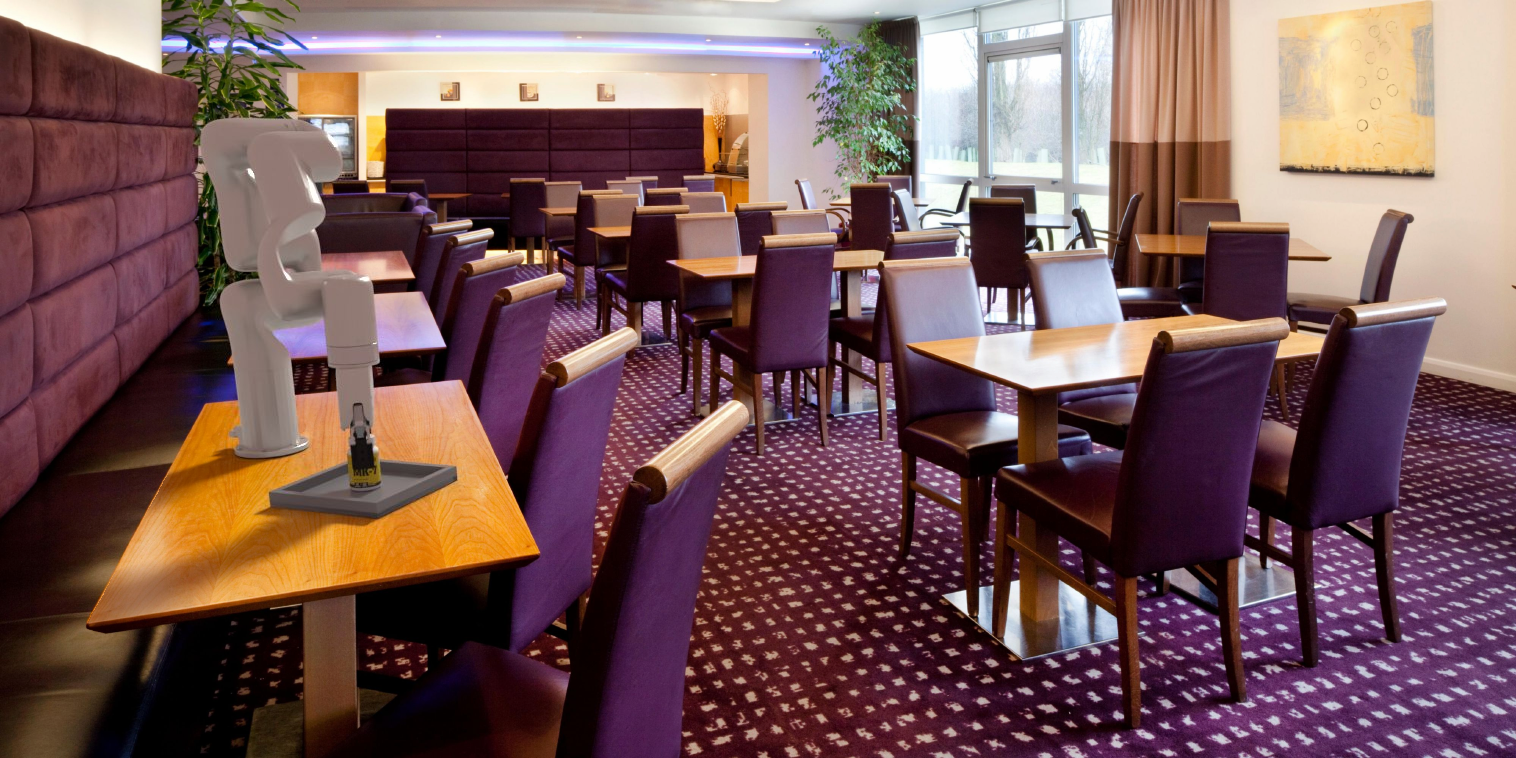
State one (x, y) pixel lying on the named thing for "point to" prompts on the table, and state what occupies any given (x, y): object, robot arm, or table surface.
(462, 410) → the table surface
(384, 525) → the table surface
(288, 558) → the table surface
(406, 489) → the serving tray
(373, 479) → the supplement bottle
